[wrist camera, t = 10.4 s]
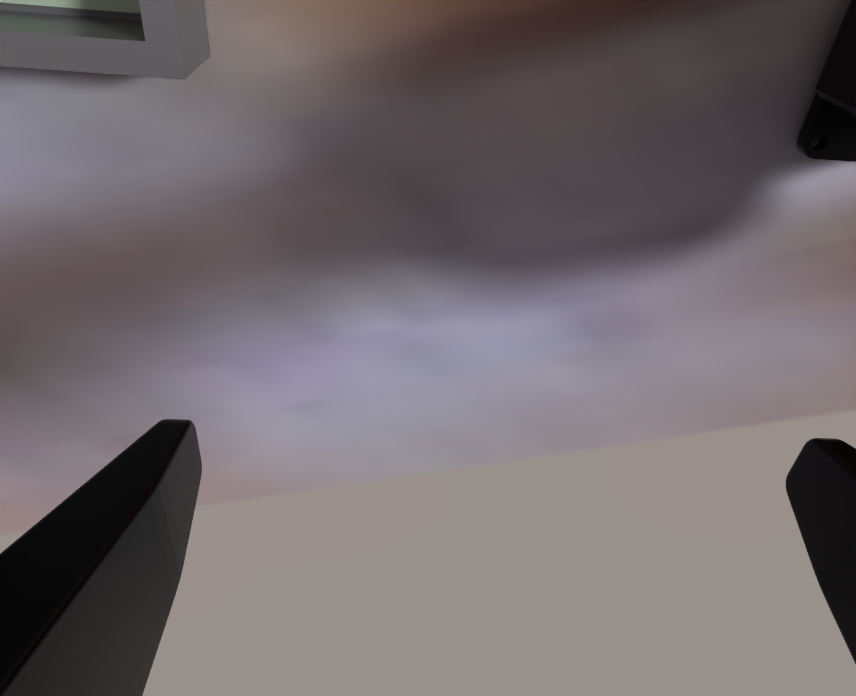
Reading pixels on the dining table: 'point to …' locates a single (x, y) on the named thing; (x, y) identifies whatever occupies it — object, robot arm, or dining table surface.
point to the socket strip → (105, 36)
